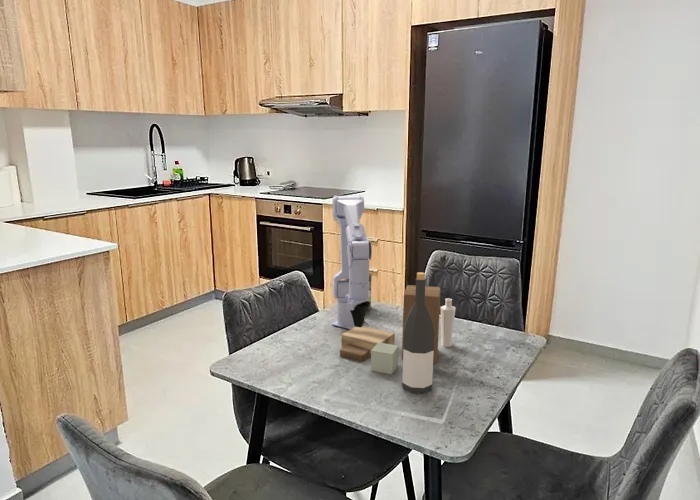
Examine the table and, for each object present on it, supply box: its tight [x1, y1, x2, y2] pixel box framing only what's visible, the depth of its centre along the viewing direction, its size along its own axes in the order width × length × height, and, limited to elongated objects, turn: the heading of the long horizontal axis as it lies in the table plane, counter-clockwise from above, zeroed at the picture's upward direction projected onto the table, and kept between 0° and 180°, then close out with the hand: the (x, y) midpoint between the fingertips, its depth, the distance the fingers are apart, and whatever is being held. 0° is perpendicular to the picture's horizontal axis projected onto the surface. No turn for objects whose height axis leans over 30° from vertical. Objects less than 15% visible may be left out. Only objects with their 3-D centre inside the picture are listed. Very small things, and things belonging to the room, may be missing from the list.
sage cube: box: [370, 343, 400, 375], centre depth 134 cm, size 6×6×6 cm
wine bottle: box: [401, 271, 434, 394], centre depth 121 cm, size 8×8×30 cm
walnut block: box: [339, 344, 371, 363], centre depth 142 cm, size 2×8×5 cm
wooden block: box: [401, 284, 441, 364], centre depth 141 cm, size 10×10×20 cm
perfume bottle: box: [440, 297, 457, 348], centre depth 149 cm, size 5×4×15 cm
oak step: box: [341, 325, 396, 350], centre depth 148 cm, size 10×13×4 cm
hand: (358, 326), depth 142 cm, fingers closed
